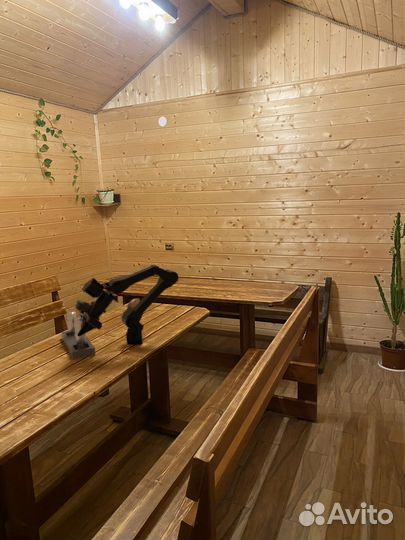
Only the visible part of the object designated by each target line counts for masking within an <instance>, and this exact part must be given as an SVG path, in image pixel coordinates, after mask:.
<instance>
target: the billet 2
mask: <svg viewBox="0 0 405 540" xmlns="http://www.w3.org/2000/svg"><path fill="white" fill-rule="evenodd" d="M83 324H84V318H83V317H80V316H79V317H76V318H75V319H74V325H75V335H76V344H77V350H78V349H83V348H87V343H86V336H87V334H86V333H85V334H83V335H81V336H77V334H78V332H79V331H80V329H81V327H82V326H83Z"/></svg>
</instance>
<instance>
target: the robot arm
mask: <svg viewBox="0 0 405 540" xmlns="http://www.w3.org/2000/svg"><path fill="white" fill-rule="evenodd" d="M155 275H156V276H158V279H157V283H156V284H155V285H154V286H153V287H152V288H151V289H150V290H149V291H148V292H147V293H146V294H145V295H144V297H142V299H140V300H141V301H140V302H139V303H138V304H137V305H136V306H135V307H133V308H131V307H130V306H129V307H128V308H126V310H125V311H123V312H122V315H121V323H122V324H123V325H125V327H126V328H127V331H126V333H125V335H126V337H125V338H126V343H127V345H142V344H143V341H144V337H143V331H144V327H145V326H144V324H142V323H141V320H142V318H143V315H144V314H145V312H146V311H147V310H148V309H149V307H150V306H151V305H152V304H153V303H154V302H155V301H156V300H157V299H158V298H159V296H161V295H162V293H164V291H165V290H167V289H170V288H171V287H172V286H174V285H175V284H177V282H179V274H178V273H177V272H176V271H175V270H171V269H163V268H162V267H159V266H158V265H156V264H151V265H150V266H147V267H145V268H142V269H141V270H137V271H135V272H133V273H131V274H129V275H125V276H119V277H115V278H111V279H110V280H109V281H107V282H103V283H100V282H99V281H98V280H97V279H96V278H94V277H92V278H90V280H88V281H86V282H85V283H84V285H83V287H82V288H81V289H82V291H83V292H84V293H85V294H87V295H89V296H90V297H91V298H92V299H96V300H94V301H91V302H90V303H89V302H87V301H83V300H78V299H77V301H76V304H75V306H74V308H76V311H78V312H79V317H83V318H84V324H83V326H82V327H81V329H80V331H79V332H78V334H77V336H81V335H83V334H85V333H89V332H91V331H93V330H95V329H97V330H99V331H100V329H102V327H103V323H102V322H101V319H100V317H101V316H102V315H103V314H106V312H107V309H108V307H109V306H111V304H112V302H113V301H115V302H116V303H119V298H118V297H119V294H122V293H123V292H125V291H126V290H128V289H129V288H130V287H132V286H133V285H135V284H137V283H140V282H141V281H144V280H146V279H148V278H149V279H150V278H151V277H154V276H155Z"/></svg>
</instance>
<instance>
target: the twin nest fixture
mask: <svg viewBox="0 0 405 540" xmlns="http://www.w3.org/2000/svg"><path fill="white" fill-rule="evenodd" d="M61 339H62V342H63V344H64V345H65V347H66V349H67V350H68V352H69V355H70V356H71V359H72V360H76V359H81V358H86V357H91V356H95V355H96V348H95V346H94V345H93V343H92V342H91V340H90V339H89V338H88V336H87V335H86V343H87V348H83V349H78V350H77V344H76V335H75V336H69V332H68V330H66V331H61Z"/></svg>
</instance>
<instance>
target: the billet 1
mask: <svg viewBox="0 0 405 540" xmlns="http://www.w3.org/2000/svg"><path fill="white" fill-rule="evenodd" d="M75 318H77V312H76V311H75V310H73V311H68V312H66V319H67V329H68V330H67V331H68V332H69V336H75V325H74V319H75Z"/></svg>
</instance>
